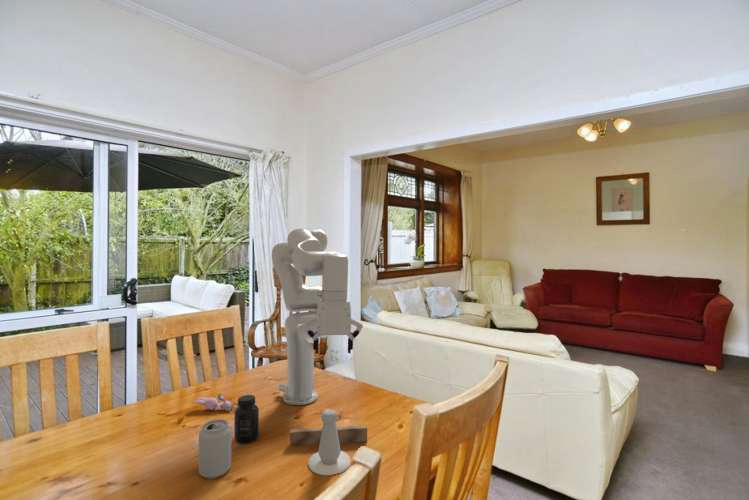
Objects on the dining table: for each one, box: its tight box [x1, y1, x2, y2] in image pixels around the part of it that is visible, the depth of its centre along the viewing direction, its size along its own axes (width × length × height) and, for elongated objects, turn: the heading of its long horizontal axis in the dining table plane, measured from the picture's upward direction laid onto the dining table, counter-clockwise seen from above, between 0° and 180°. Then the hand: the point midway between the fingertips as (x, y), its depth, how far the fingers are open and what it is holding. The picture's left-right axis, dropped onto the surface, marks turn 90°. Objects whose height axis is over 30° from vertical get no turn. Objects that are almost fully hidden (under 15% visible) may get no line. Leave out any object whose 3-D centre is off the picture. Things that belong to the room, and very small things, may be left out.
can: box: [198, 418, 232, 479], centre depth 95 cm, size 8×8×12 cm
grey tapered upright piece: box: [318, 409, 341, 465], centre depth 100 cm, size 6×6×13 cm
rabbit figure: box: [191, 393, 238, 412], centre depth 130 cm, size 6×6×15 cm
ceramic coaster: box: [308, 450, 352, 476], centre depth 100 cm, size 11×11×1 cm
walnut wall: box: [289, 425, 368, 447], centre depth 109 cm, size 22×2×4 cm, turn 98°
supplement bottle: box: [233, 394, 260, 445], centre depth 111 cm, size 7×7×12 cm
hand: (333, 351), depth 114 cm, fingers open, 9 cm apart
